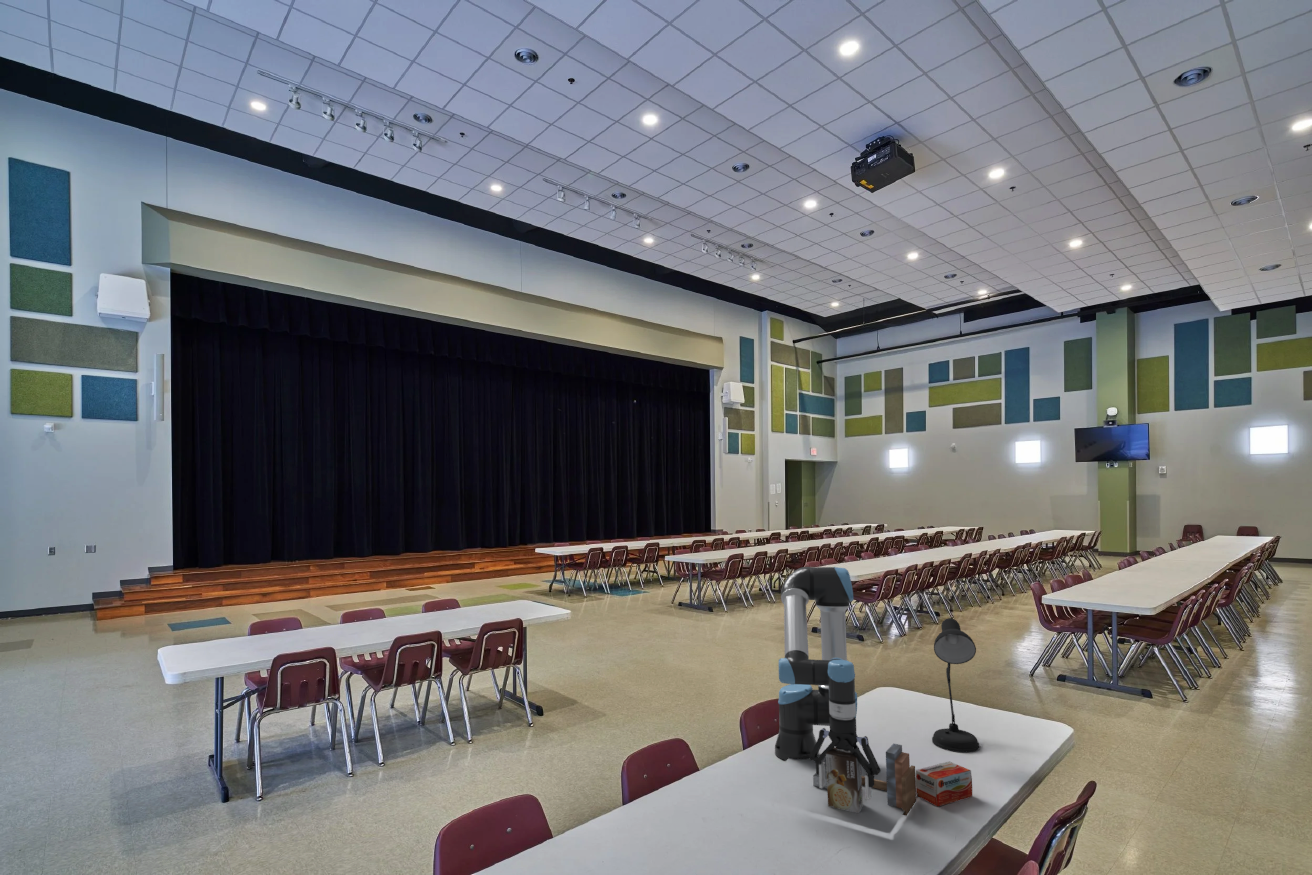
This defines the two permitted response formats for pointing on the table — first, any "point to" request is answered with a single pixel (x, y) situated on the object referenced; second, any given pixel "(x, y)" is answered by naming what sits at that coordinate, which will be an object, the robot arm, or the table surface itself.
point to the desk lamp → (952, 650)
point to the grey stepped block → (816, 779)
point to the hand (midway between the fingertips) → (845, 792)
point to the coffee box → (844, 780)
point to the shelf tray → (905, 789)
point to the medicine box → (943, 783)
